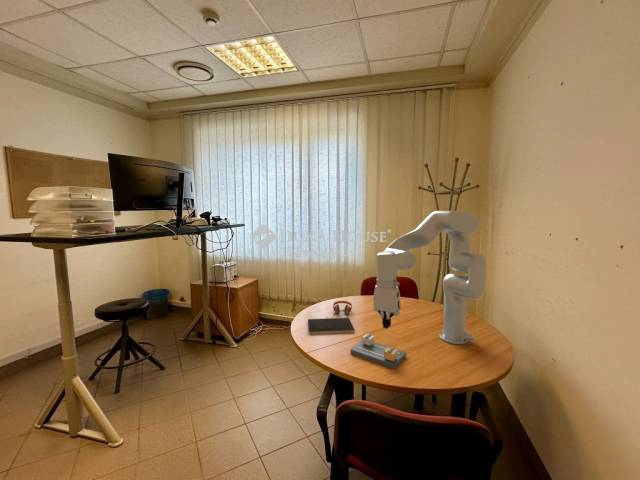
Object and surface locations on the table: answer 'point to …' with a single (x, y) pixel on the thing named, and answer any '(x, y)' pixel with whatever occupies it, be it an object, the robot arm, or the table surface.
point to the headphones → (337, 309)
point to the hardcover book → (330, 325)
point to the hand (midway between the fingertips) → (386, 327)
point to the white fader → (368, 339)
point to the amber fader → (390, 354)
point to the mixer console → (377, 354)
